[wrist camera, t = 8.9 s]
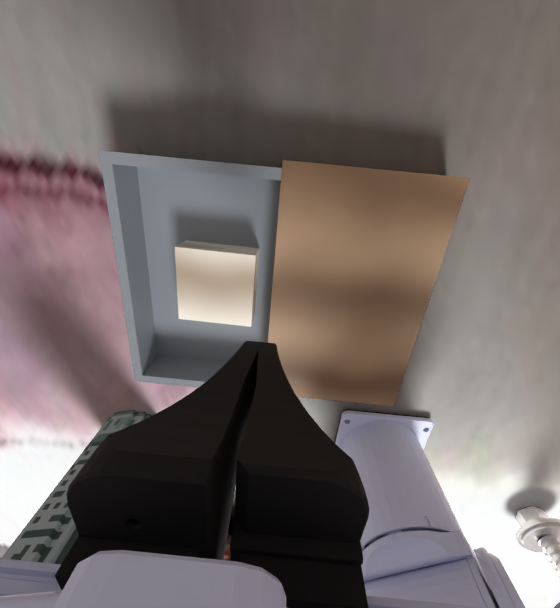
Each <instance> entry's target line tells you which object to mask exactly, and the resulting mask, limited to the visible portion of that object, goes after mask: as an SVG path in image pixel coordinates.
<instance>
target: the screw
mask: <svg viewBox="0 0 560 608" xmlns="http://www.w3.org/2000/svg"><path fill="white" fill-rule="evenodd" d="M515 519H516V520H517V522H518V523H519V525H520V526H521V528H520V529H519V530H518V531H517V533H516V539H517V541H518V542H519V544H520V545H521V546H523V547H524V548H527V549H529V550H531V551H535V552H543V553H544V554H545V555H547V556H548V560H549V561H550V562H551V563H553V568H554V569H555V570H557V571H559V577H560V520H559V519H552V518H549V517H548V516H547V515H546V513H545V512H544V511H543V510H542V509H539V508H536V507H534V506H530V507H527V508H523V509H520V510H518V513H517V515H516V518H515Z"/></svg>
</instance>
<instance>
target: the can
mask: <svg viewBox="0 0 560 608" xmlns="http://www.w3.org/2000/svg"><path fill="white" fill-rule="evenodd" d="M149 417H151V416H150V415H146V414H145V412H142V413H136V412H135V410H132V411H125V412H119V413H115V414H114V415H113V417H109V419H108V420H107V421H106V423H105V424H104V425H103V426H102V428H101V429H100V430H99V432H98V433H97V434H96V436H95V437H94V438H93V439H92V441H91V442H90V443H89V445H88V446H87V447H86V449H85V450H84V451H83V452H82V454H81V455H80V456H79V458H78V459H77V460H76V462H75V463H74V464H73V466H72V467H71V468H70V469H69V471H68V472H67V473H66V475H65V476H64V477H63V479H62V480H61V481H60V482H59V484H58V485H57V486H56V488H55V489H54V490H53V492H52V493H51V494H50V495H49V497H48V498H47V499H46V501H45V502H44V503H43V505H42V506H41V507H40V509H39V510H38V511H37V512H36V514H35V515H34V516H33V518H32V519H31V520H30V522H29V523H28V524H27V525H26V527H25V528H24V529H23V531H22V532H21V533H20V535H19V536H18V537H17V538H16V540H15V541H14V542H13V544H12V545H11V546H10V548H9V549H8V550H7V552H6V553H5V554H4V555H3V557H2V559H12V560H22V561H31V562H41V563H51V564H62V562H63V561H64V559H65V557H66V556H67V554H68V552H69V551H70V549H71V548H72V546H73V544H74V543H75V541H76V539H77V538H78V536H79V534H78V531H77V529H76V526H75V523H74V520H73V518H72V515H71V512H70V509H69V507H68V502H67V495H66V494H67V490H68V487H69V485H70V484H71V482H72V481H73V479H74V478H75V477H76V475H77V474H78V473H79V471H80V470H81V468H82V467H83V466H84V464H85V463H86V462H87V460H88V459H89V457H90V456H91V455H92V454H93V452H94V451H95V450H96V448H97V447H98V446H99V445H100V444H101V443H102V442H103V440H104V439H105V438H106V437H107V436H108V435H109V434H112V433H114V432H117V431H119V430H122V429H124V428H126V427H129V426H131V425H133V424H136V423H138V422H140V421H143V420H145V419H147V418H149Z"/></svg>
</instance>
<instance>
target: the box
mask: <svg viewBox="0 0 560 608" xmlns="http://www.w3.org/2000/svg"><path fill="white" fill-rule="evenodd" d="M99 154H100V160H101V167H102V173H103V179H104V186H105V192H106V199H107V205H108V211H109V218H110V224H111V230H112V237H113V243H114V250H115V256H116V262H117V269H118V275H119V282H120V288H121V294H122V301H123V307H124V313H125V320H126V326H127V333H128V339H129V345H130V352H131V358H132V365H133V371H134V377H135V381H138V382H148V383H158V384H168V385H178V386H188V387H198V388H199V387H200V386H201V385H202V384H204V383H205V382H206V381H207V380H208V379H210V378H211V377H212V376H213V375H214V374H215V373H216V372H217V371H218V370H220V369H221V368H222V367H223V366H224V365H225V364H226V362H227V361H228V360H229V359H230V358H231V357H232V356H233V355H234V354H235V353H236V352H237V350H238V349H239V348H240V347H241V345H242V344H243V343H244V342H245V341H256V342H266V343H268V334H269V322H270V309H271V297H272V285H273V273H274V260H275V248H276V236H277V224H278V211H279V199H280V187H281V175H282V168H277V167H266V166H256V165H246V164H235V163H225V162H214V161H204V160H194V159H183V158H173V157H163V156H152V155H142V154H131V153H121V152H111V151H100V150H99ZM186 240H189V241H198V242H207V243H216V244H225V245H235V246H244V247H253V248H259V261H258V275H257V290H256V304H255V315H254V319H253V322H252V326H251V327H249V326H239V325H230V324H221V323H212V322H202V321H193V320H184V319H179V315H178V297H177V279H176V261H175V246H177V245H179V244H180V243H182V242H184V241H186Z"/></svg>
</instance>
